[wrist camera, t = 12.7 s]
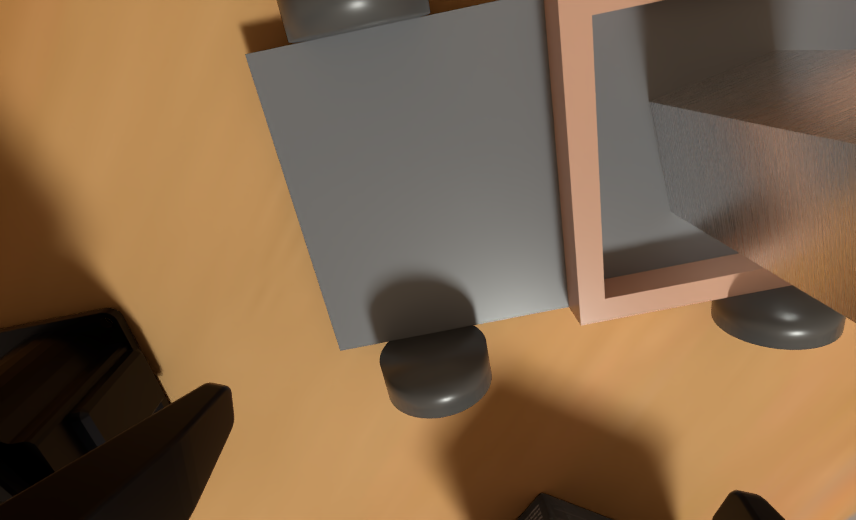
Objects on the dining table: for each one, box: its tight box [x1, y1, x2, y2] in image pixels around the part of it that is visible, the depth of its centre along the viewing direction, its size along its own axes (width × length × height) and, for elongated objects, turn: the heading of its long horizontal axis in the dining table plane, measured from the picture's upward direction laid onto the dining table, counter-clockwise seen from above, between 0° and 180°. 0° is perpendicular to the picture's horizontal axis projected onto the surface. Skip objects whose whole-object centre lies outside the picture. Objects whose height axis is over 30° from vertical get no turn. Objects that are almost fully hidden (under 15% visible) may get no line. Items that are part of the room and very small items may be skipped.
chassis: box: [245, 0, 856, 418], centre depth 17 cm, size 22×15×4 cm
